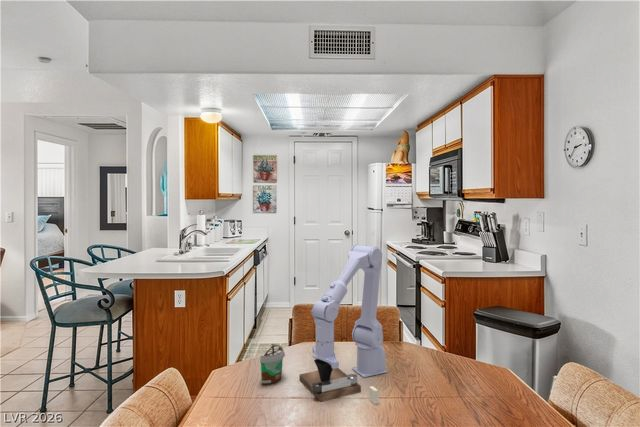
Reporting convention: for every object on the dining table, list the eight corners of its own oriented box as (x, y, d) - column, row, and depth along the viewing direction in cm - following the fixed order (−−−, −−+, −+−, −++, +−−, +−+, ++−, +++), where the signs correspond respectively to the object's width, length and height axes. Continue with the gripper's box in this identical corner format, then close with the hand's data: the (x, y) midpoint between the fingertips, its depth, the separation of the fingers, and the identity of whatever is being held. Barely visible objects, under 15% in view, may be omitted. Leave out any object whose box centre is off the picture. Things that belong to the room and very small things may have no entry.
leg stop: (372, 399, 124) (372, 386, 124) (378, 403, 121) (378, 390, 121) (369, 400, 123) (369, 386, 123) (374, 404, 121) (374, 391, 121)
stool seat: (336, 372, 143) (336, 366, 143) (360, 391, 128) (360, 385, 128) (299, 380, 137) (299, 374, 137) (320, 401, 122) (320, 395, 122)
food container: (278, 389, 131) (278, 358, 130) (260, 387, 132) (260, 356, 132) (289, 372, 143) (289, 344, 142) (272, 371, 144) (272, 343, 144)
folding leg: (353, 380, 131) (353, 373, 131) (359, 384, 129) (359, 377, 128) (310, 390, 125) (310, 382, 125) (315, 394, 122) (315, 387, 122)
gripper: (303, 334, 133) (304, 376, 133) (323, 349, 120) (323, 395, 120) (323, 331, 136) (323, 372, 136) (344, 345, 123) (344, 390, 123)
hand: (325, 382), depth 128 cm, fingers closed
